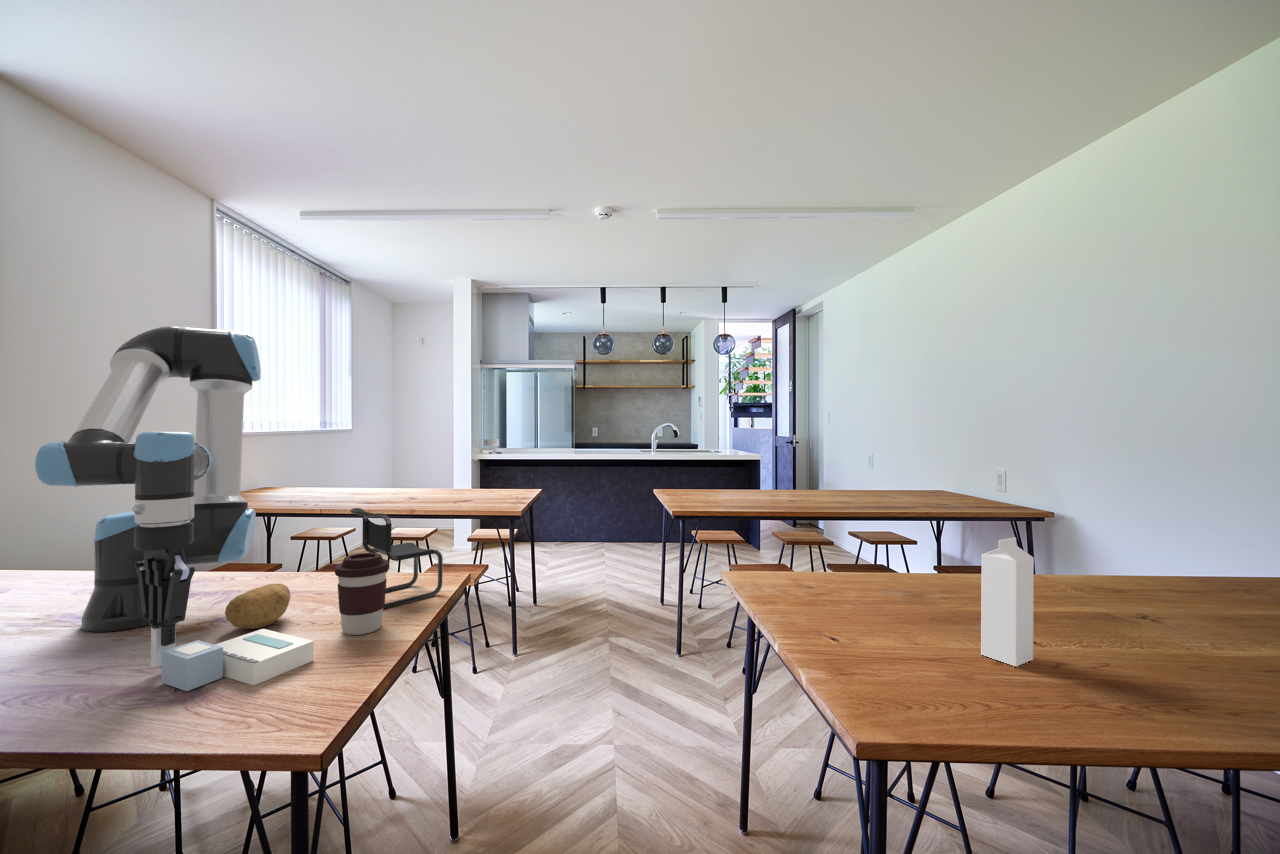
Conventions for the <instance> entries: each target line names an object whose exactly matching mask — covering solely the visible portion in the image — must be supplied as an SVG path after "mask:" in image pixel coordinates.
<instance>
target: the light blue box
mask: <svg viewBox="0 0 1280 854" xmlns="http://www.w3.org/2000/svg"><path fill="white" fill-rule="evenodd" d="M160 674H161V679H160V680H161V683H162V684H165V685H167V686H170V687H174V688H176V689H178V690H179V689H180V690H182V691H185V692H189V691H192V690H194V689H196V688H199V687H202V686H204V685H208V684H210V683H212V682H215V681H217V680H220V679H223V678H224V676H223V647H221V646H217V645H215V644H214V643H210V642H206V641H202V640H199V639H197V640H194V641H191V642H188V643H187V642H186V643H184V644H181V645H178V646H176V647H174V648H171V649H168V650H165V651H162V666H161V673H160Z"/></svg>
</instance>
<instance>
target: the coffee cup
mask: <svg viewBox="0 0 1280 854" xmlns="http://www.w3.org/2000/svg"><path fill="white" fill-rule="evenodd" d="M389 570H390V561H389V560H388V559H385V558H383V556H382V553H379V552H378V553H369V552H362V553H361V552H360V553H354V554H350V555H347V556H345V557H343V560H342V562H341V563H338V564H336V566H335V567H334V575H335V576H337V578H338V583H337V594H338V595H337V596H338V611H339V614H340V620H341V621H340V622H341V632H342V634H344V635H348V636H360V635H367V634H370V633H373V632H376V631H377V630H379V629H380V628H381V627H382V625H383V614H384V609H383V607H384V605H385V604H386V593H387V592H386V588H387V572H388V571H389Z"/></svg>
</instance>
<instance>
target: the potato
mask: <svg viewBox="0 0 1280 854" xmlns="http://www.w3.org/2000/svg"><path fill="white" fill-rule="evenodd" d="M290 601H291V592H290V589H289V587H288V586H287V585H285V584H284V583H269V584H266V585H262V586H258V587H256V588H253V589H252V588H251V589H250V590H247V591H245V592H242V593H241V594H238V595H237V596H235V597H234V598H233V599H231V600H230V601H229V602H228V604H227V605H226V607H225V610H224V614H225V618H226V621H227V622H228V623H230V624H231V625H232V626H234V627H235V628H240V629H245V630H246V629H247V630H248V629H262V628H264V627H267V626H269V625H271V624H273V623H274V622H276V621H277V620H278V619H280V618H281V617H282V616H283V615H284V614H285V613H286V611H287V609H288V606H289V604H290Z"/></svg>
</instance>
